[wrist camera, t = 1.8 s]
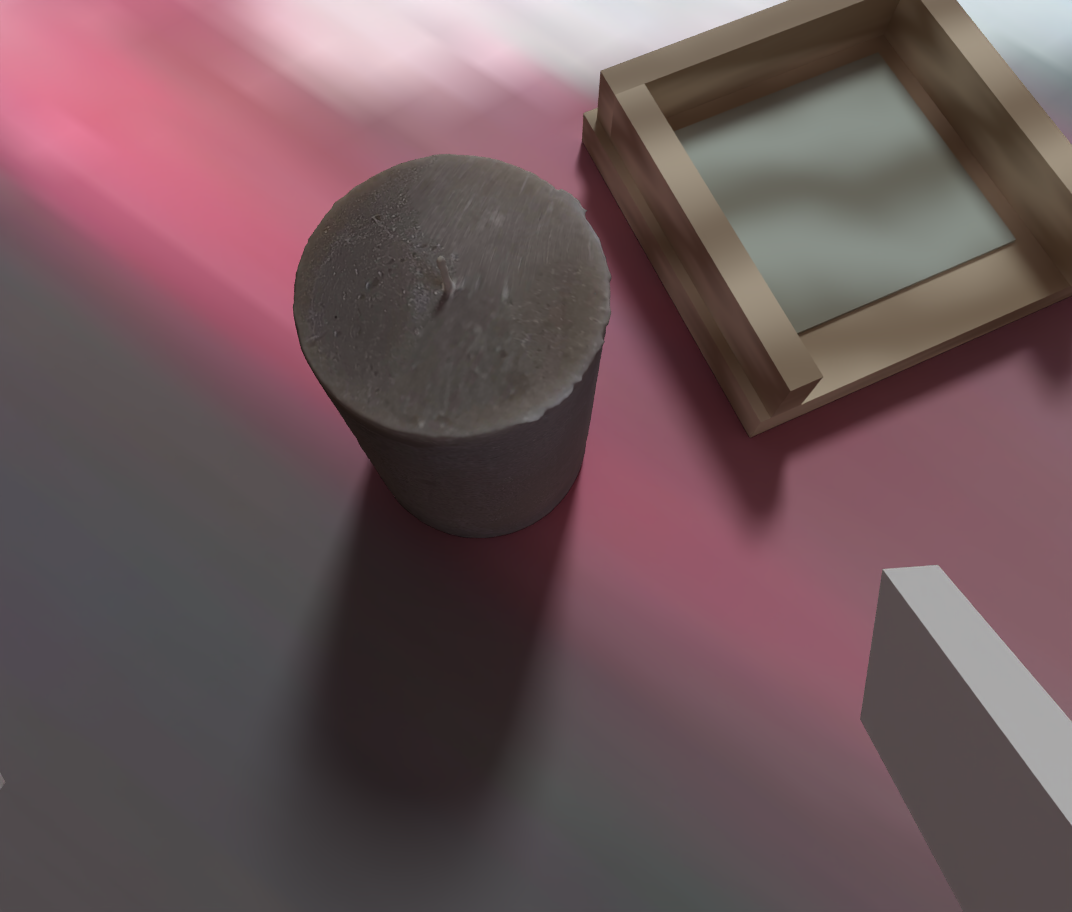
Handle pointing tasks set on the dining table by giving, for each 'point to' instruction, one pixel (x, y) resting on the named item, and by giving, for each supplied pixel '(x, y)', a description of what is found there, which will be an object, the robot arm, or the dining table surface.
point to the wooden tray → (836, 193)
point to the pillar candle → (459, 336)
